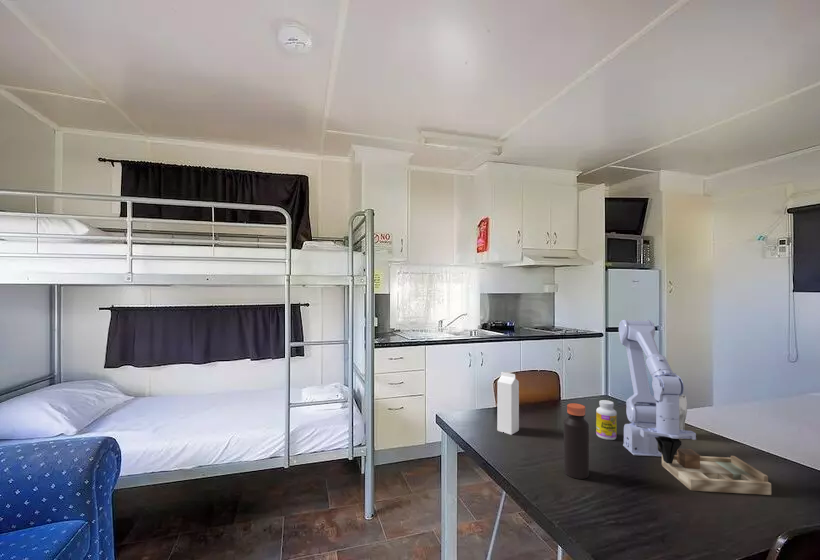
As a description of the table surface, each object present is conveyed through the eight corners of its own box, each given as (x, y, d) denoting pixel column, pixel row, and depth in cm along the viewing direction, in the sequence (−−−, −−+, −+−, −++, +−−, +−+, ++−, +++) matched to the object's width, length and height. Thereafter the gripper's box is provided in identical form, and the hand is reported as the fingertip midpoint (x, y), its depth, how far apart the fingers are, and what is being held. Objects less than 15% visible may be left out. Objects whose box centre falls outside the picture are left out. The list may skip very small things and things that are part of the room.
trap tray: (690, 490, 102) (690, 473, 102) (661, 465, 116) (661, 451, 116) (771, 494, 100) (771, 477, 100) (731, 469, 114) (731, 454, 114)
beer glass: (687, 441, 134) (686, 399, 134) (663, 436, 138) (663, 395, 138) (687, 435, 140) (687, 394, 140) (664, 430, 144) (664, 391, 144)
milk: (511, 435, 139) (511, 375, 139) (497, 430, 143) (497, 373, 143) (519, 430, 144) (519, 372, 144) (504, 426, 148) (504, 370, 148)
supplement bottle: (598, 439, 135) (598, 403, 135) (594, 432, 142) (594, 398, 142) (619, 441, 134) (619, 405, 134) (613, 434, 140) (613, 399, 140)
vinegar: (574, 481, 107) (574, 410, 107) (558, 469, 113) (558, 403, 114) (594, 477, 109) (594, 408, 109) (577, 466, 115) (577, 401, 115)
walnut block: (685, 468, 109) (685, 454, 109) (677, 461, 113) (676, 448, 113) (700, 469, 109) (699, 455, 109) (691, 462, 113) (691, 449, 113)
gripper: (648, 419, 109) (648, 467, 108) (702, 422, 107) (703, 469, 107) (636, 411, 116) (636, 455, 115) (687, 413, 114) (687, 458, 114)
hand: (667, 461), depth 112 cm, fingers closed
